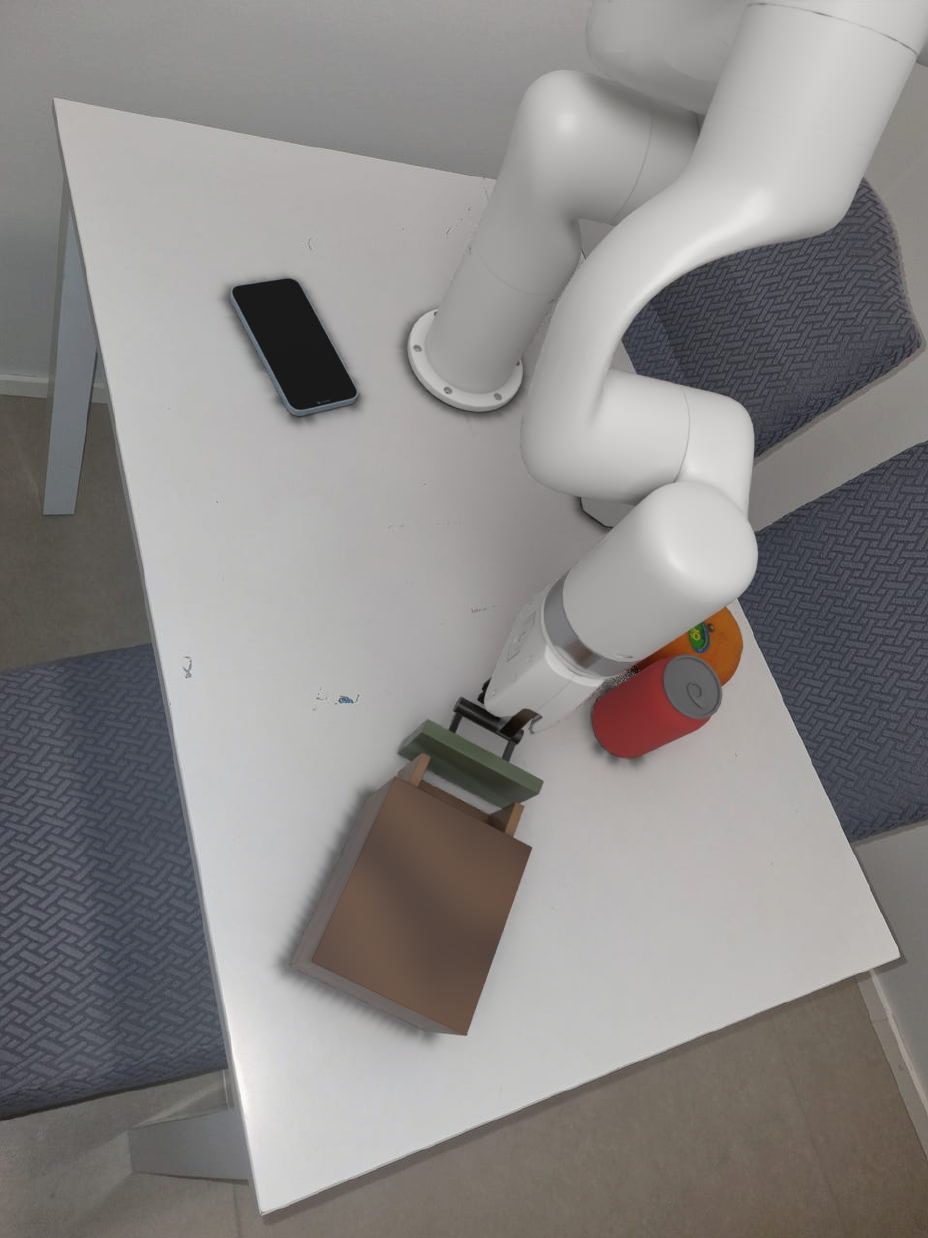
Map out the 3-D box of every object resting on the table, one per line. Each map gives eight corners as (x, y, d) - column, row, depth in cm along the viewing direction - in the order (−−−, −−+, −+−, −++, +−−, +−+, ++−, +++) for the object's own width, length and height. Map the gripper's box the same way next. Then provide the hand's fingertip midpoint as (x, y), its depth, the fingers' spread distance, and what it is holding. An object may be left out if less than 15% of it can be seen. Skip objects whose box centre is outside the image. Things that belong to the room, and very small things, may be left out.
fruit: (685, 601, 89) (732, 568, 82) (723, 695, 86) (775, 669, 79) (599, 617, 85) (642, 584, 78) (637, 718, 82) (685, 692, 75)
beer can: (610, 771, 79) (685, 737, 68) (576, 706, 80) (645, 663, 70) (662, 744, 82) (741, 708, 71) (629, 682, 83) (702, 637, 73)
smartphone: (296, 275, 87) (362, 397, 83) (295, 282, 87) (360, 402, 84) (226, 286, 83) (292, 413, 80) (225, 292, 84) (290, 419, 81)
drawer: (422, 697, 74) (448, 672, 68) (526, 753, 75) (561, 733, 70) (337, 883, 66) (358, 872, 60) (455, 942, 67) (488, 936, 61)
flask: (634, 539, 90) (689, 490, 81) (572, 515, 88) (621, 463, 80) (641, 483, 93) (694, 431, 85) (581, 459, 92) (629, 403, 83)
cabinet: (365, 799, 70) (395, 775, 62) (489, 862, 71) (532, 847, 64) (287, 966, 63) (310, 961, 56) (426, 1032, 65) (466, 1036, 57)
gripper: (585, 506, 60) (487, 609, 76) (514, 686, 53) (422, 758, 68) (675, 559, 61) (560, 650, 77) (618, 743, 54) (504, 801, 69)
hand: (495, 701), depth 72 cm, fingers closed
